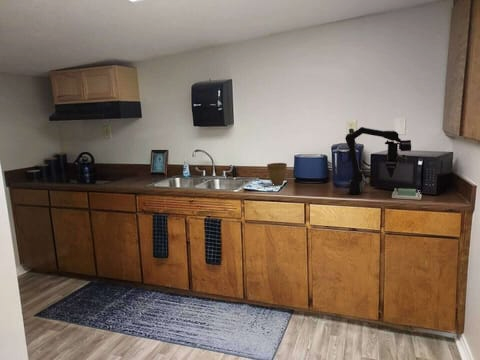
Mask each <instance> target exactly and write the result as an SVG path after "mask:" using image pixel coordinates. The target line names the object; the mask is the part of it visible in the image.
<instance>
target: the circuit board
mask: <svg viewBox="0 0 480 360" xmlns="http://www.w3.org/2000/svg"><path fill="white" fill-rule="evenodd" d="M397 192H398V194H397V195H403V196H416V193H417V188H399V187H398V188H397Z"/></svg>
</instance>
